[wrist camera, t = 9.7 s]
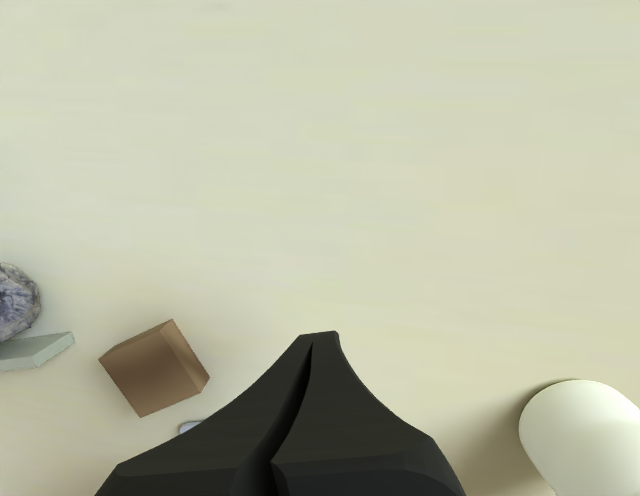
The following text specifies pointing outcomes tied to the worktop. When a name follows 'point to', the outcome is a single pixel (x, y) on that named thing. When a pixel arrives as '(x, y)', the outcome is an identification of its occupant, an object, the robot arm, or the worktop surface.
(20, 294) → the seashell
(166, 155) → the worktop surface
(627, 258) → the worktop surface
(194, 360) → the walnut tile
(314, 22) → the worktop surface
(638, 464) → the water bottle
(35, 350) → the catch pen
